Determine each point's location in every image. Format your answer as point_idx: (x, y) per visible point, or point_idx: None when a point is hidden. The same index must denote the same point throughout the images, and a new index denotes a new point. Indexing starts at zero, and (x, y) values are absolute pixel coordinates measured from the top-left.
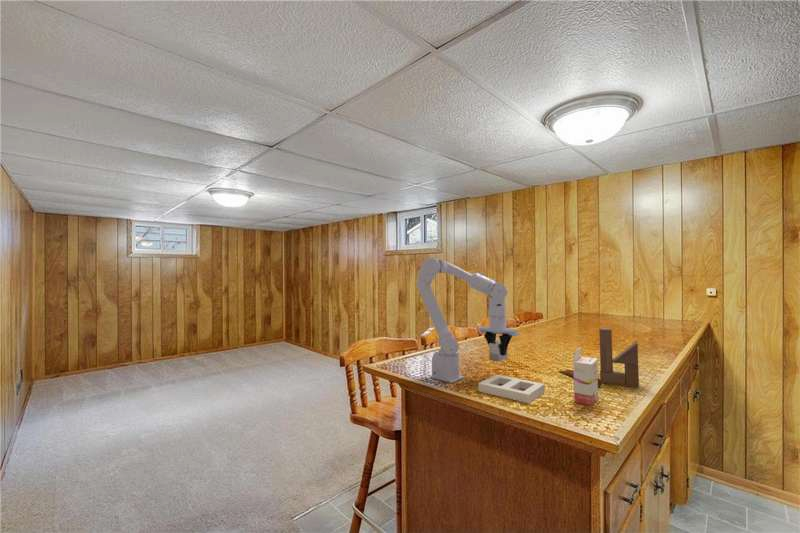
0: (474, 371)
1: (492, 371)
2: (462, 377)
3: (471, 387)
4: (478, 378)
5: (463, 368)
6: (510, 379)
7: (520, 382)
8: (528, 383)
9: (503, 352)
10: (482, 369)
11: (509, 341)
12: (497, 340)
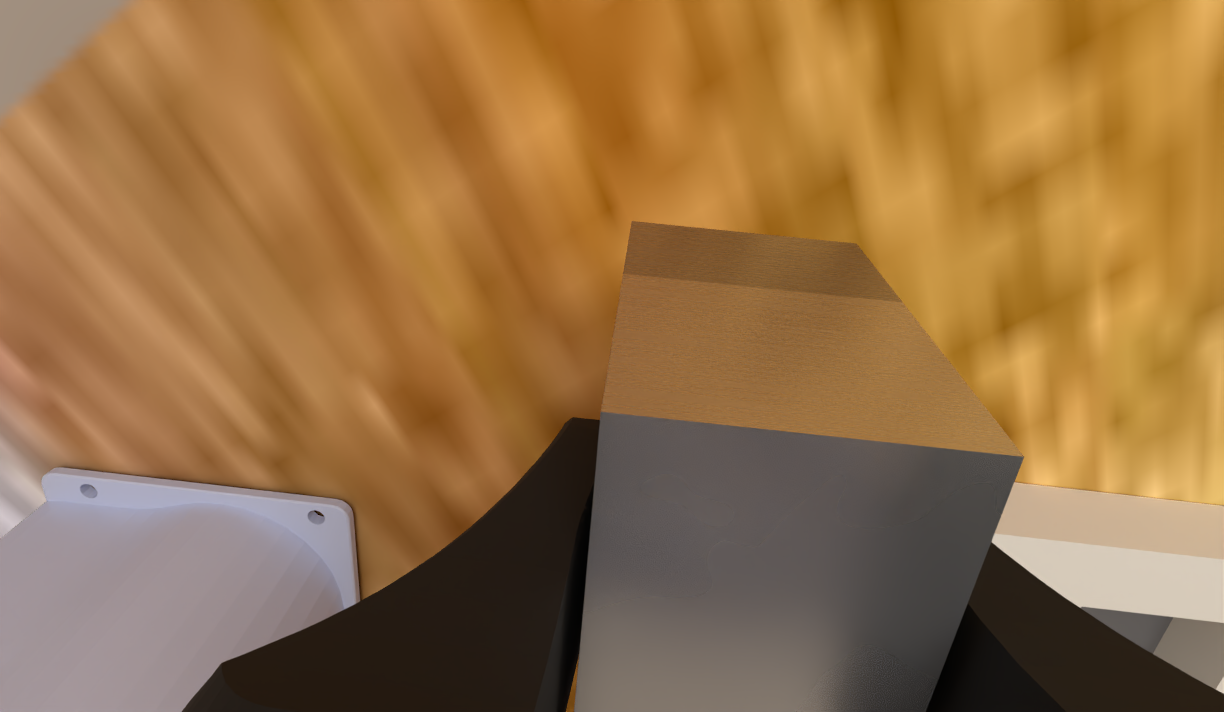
0: (275, 192)
1: (487, 35)
2: (352, 545)
3: (572, 688)
4: (489, 438)
5: (55, 133)
6: None
7: (1073, 602)
8: (1175, 613)
9: None
10: (300, 13)
11: (1175, 685)
12: (613, 510)
